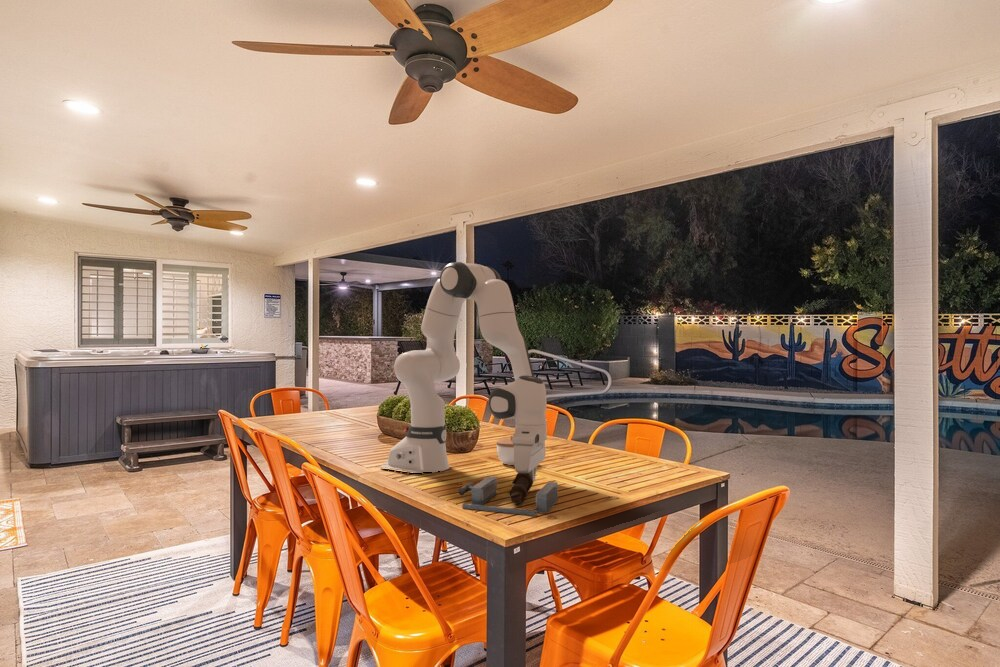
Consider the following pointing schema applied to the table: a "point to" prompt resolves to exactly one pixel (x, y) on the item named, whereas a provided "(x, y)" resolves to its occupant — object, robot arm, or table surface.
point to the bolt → (520, 487)
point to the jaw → (481, 490)
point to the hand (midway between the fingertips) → (531, 482)
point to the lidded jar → (506, 450)
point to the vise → (543, 502)
